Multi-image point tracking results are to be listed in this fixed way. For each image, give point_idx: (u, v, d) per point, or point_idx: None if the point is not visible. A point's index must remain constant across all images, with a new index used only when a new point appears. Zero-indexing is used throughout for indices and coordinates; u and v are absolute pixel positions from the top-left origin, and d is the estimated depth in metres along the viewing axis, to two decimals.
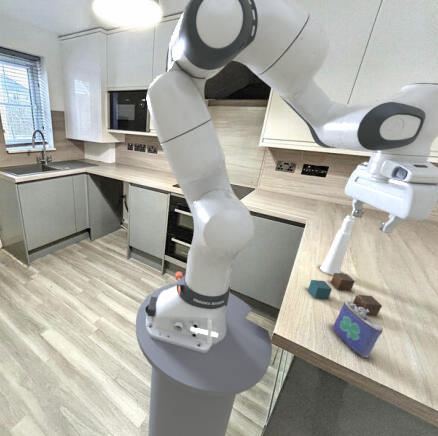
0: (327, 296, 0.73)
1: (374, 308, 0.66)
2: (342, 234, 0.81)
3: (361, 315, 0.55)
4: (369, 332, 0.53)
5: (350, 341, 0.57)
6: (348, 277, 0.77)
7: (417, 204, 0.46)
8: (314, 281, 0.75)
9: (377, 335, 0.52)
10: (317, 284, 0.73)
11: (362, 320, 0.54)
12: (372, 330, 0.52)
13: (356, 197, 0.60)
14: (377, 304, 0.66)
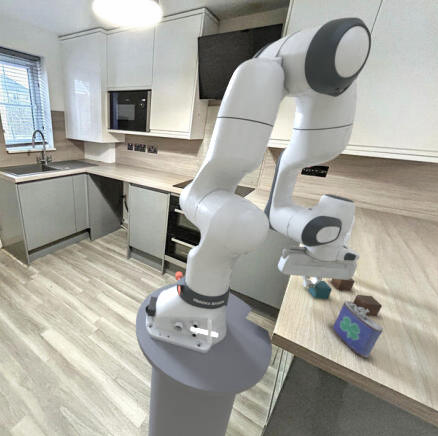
0: (327, 296, 0.73)
1: (374, 308, 0.66)
2: None
3: (361, 315, 0.55)
4: (369, 332, 0.53)
5: (350, 341, 0.57)
6: None
7: None
8: None
9: (377, 335, 0.52)
10: (317, 284, 0.73)
11: (362, 320, 0.54)
12: (372, 330, 0.52)
13: (300, 274, 0.71)
14: (377, 304, 0.66)
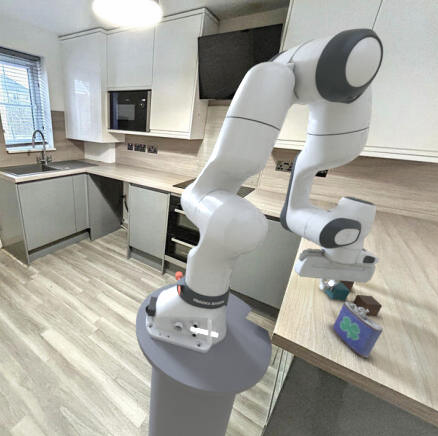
0: (344, 298, 0.72)
1: (374, 308, 0.66)
2: None
3: (361, 315, 0.55)
4: (369, 332, 0.53)
5: (350, 341, 0.57)
6: None
7: None
8: None
9: (377, 335, 0.52)
10: (335, 285, 0.73)
11: (362, 320, 0.54)
12: (372, 330, 0.52)
13: (317, 277, 0.71)
14: (377, 304, 0.66)
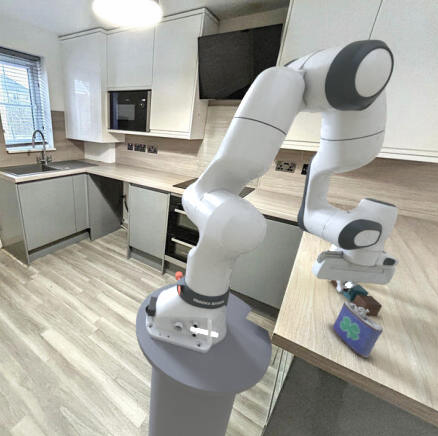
0: None
1: (374, 308, 0.66)
2: None
3: (361, 315, 0.55)
4: (369, 332, 0.53)
5: (350, 341, 0.57)
6: None
7: None
8: None
9: (377, 335, 0.52)
10: (353, 287, 0.72)
11: (362, 320, 0.54)
12: (372, 330, 0.52)
13: (335, 279, 0.71)
14: (377, 304, 0.66)
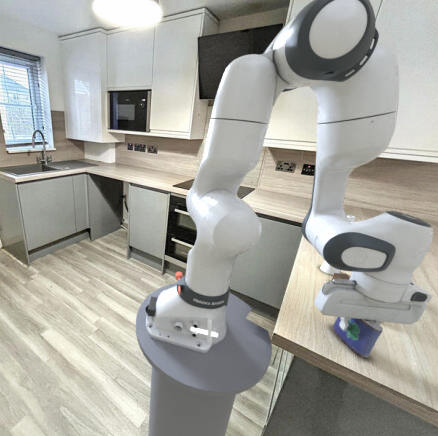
0: None
1: None
2: None
3: None
4: (369, 332, 0.53)
5: (350, 341, 0.57)
6: (348, 277, 0.77)
7: None
8: None
9: (377, 335, 0.52)
10: None
11: (362, 320, 0.54)
12: (372, 330, 0.52)
13: (345, 316, 0.54)
14: None
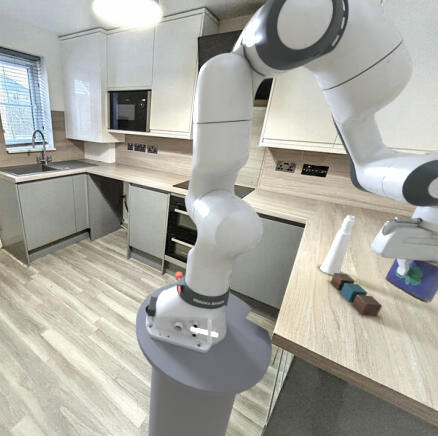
0: None
1: (374, 308, 0.66)
2: (342, 234, 0.81)
3: None
4: (435, 273, 0.50)
5: (410, 287, 0.54)
6: (348, 277, 0.77)
7: None
8: (347, 284, 0.74)
9: None
10: (351, 287, 0.72)
11: (425, 262, 0.51)
12: None
13: (408, 258, 0.51)
14: (377, 304, 0.66)
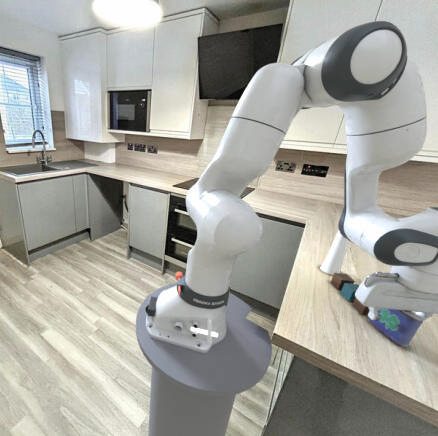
0: None
1: None
2: None
3: None
4: (410, 323, 0.56)
5: (389, 332, 0.60)
6: (348, 277, 0.77)
7: None
8: (347, 284, 0.74)
9: (418, 325, 0.55)
10: (351, 287, 0.72)
11: (402, 311, 0.57)
12: (413, 320, 0.55)
13: (387, 307, 0.57)
14: None
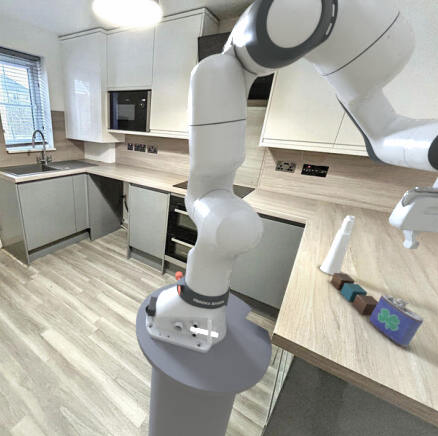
0: None
1: (374, 308, 0.66)
2: (342, 234, 0.81)
3: (400, 307, 0.58)
4: (410, 323, 0.56)
5: (389, 332, 0.60)
6: (348, 277, 0.77)
7: None
8: (347, 284, 0.74)
9: (418, 325, 0.55)
10: (351, 287, 0.72)
11: (402, 311, 0.57)
12: (413, 320, 0.55)
13: (428, 230, 0.49)
14: None
